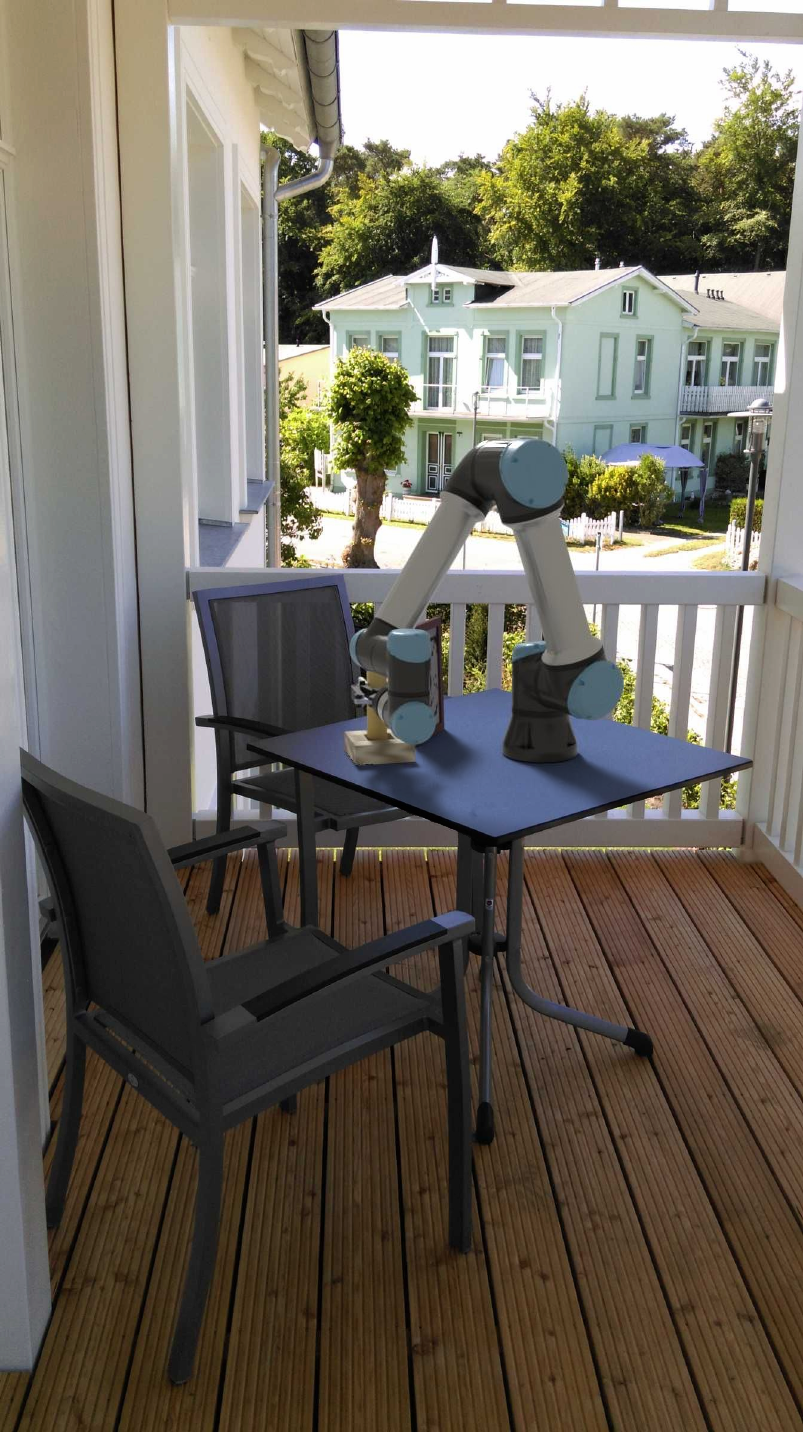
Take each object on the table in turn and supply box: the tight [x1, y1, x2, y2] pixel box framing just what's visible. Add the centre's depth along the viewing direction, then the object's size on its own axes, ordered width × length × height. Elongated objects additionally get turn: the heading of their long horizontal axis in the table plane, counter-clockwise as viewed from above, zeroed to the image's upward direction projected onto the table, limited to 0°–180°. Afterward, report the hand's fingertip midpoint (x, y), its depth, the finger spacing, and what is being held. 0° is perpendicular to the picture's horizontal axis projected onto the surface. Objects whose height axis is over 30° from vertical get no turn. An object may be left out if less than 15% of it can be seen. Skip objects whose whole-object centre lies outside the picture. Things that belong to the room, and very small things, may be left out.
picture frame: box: [415, 616, 446, 748], centre depth 248 cm, size 17×10×25 cm, turn 158°
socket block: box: [344, 728, 416, 766], centre depth 234 cm, size 12×12×4 cm
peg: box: [366, 670, 388, 739], centre depth 232 cm, size 4×4×18 cm
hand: (371, 683), depth 236 cm, fingers closed on peg, 4 cm apart
